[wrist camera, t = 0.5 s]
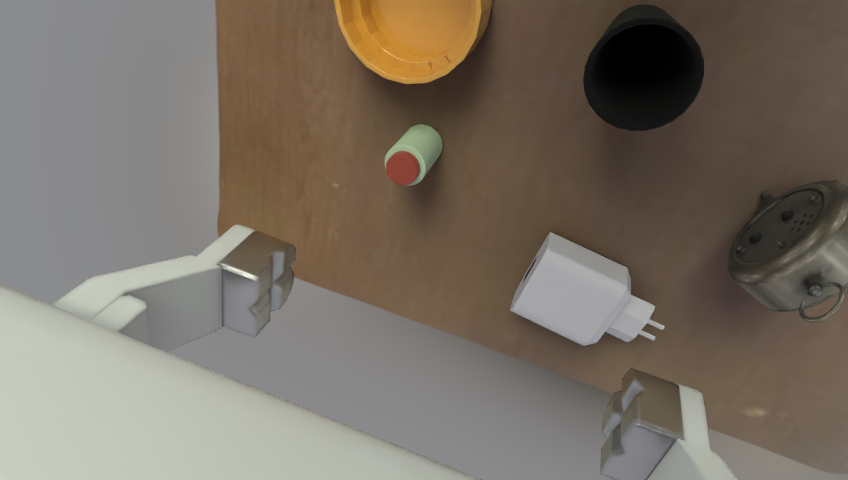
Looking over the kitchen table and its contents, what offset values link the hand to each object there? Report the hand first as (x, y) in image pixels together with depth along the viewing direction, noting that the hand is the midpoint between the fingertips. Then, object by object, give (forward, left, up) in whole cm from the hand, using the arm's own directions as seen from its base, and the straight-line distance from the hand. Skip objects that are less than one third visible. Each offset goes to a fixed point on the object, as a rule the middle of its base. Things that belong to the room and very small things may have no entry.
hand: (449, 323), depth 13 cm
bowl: (+2, -14, -43) cm, 46 cm away
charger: (+27, +10, -44) cm, 53 cm away
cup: (+1, +5, -44) cm, 44 cm away
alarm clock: (+12, +22, -44) cm, 50 cm away
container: (+16, -12, -43) cm, 48 cm away
